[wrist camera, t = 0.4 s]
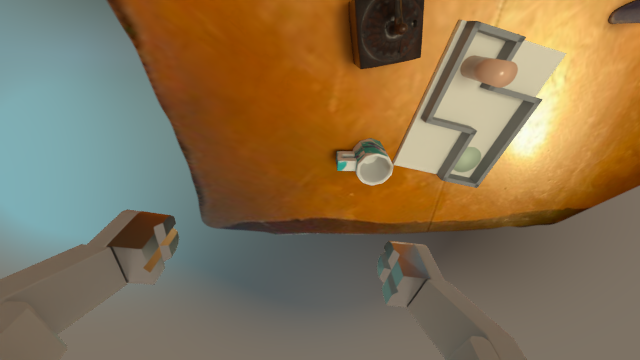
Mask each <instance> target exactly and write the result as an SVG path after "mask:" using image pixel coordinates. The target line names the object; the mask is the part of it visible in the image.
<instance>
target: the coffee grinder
mask: <svg viewBox="0 0 640 360" xmlns="http://www.w3.org/2000/svg"><path fill="white" fill-rule="evenodd" d="M423 11H424V0H351V1H350V2H349V22H350V33H351V43H352V50H353V58H354V64H356V65H357V66H358V67H359V68H360V69H365V68H373V67H379V66H384V65H389V64H394V63H400V62H405V61H409V60H413V59H417V58H420V57H421V45H422V29H423Z"/></svg>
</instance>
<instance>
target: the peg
mask: <svg viewBox="0 0 640 360" xmlns="http://www.w3.org/2000/svg"><path fill="white" fill-rule="evenodd" d="M460 72H461V75H462V76H464V77H466V78H469V79H472V80H475V81H479V82H482V83H485V84H488V85H491V86H494V87H497V88H502V87H505V86H507V85H509V84H510V83H511V82H512V81H513V80H514V79H515V77H516V75H517V72H518V67H517V65H516V63H514V62H512V61H506V60H500V59H494V58H488V57H482V56H476V55H473V56H470V57H468V58H466V59H465V60H464V62H463V63H462V65H461V68H460Z"/></svg>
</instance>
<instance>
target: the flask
mask: <svg viewBox="0 0 640 360" xmlns="http://www.w3.org/2000/svg"><path fill="white" fill-rule="evenodd" d="M612 15H613V16H612ZM611 16H612V17H611ZM610 17H611V18H610ZM610 17H609V23H612V24H617V23H640V0H635V1H633V2H630V3H628V4H626V5H624V6H621V7H620V8H618V9H617V10H615V11H614V12H612V14H611V15H610Z"/></svg>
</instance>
